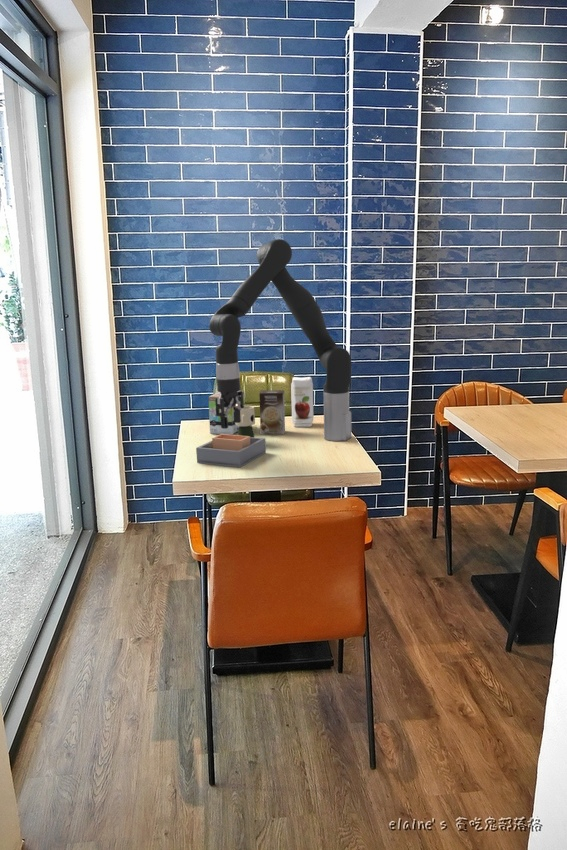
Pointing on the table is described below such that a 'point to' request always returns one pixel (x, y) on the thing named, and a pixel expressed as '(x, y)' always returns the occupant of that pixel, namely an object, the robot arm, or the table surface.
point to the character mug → (246, 421)
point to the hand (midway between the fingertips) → (231, 425)
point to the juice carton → (302, 401)
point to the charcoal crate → (231, 454)
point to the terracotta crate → (230, 442)
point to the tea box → (216, 420)
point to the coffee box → (272, 412)
